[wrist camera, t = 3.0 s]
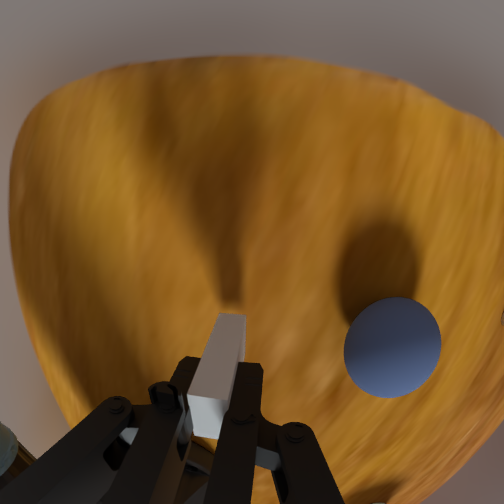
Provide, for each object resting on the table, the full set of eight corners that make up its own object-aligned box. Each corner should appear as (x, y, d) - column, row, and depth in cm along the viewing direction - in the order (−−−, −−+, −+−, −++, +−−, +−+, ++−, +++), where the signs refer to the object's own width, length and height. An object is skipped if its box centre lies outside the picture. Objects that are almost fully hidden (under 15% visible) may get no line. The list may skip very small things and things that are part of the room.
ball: (328, 359, 18) (343, 423, 12) (343, 280, 16) (374, 331, 10) (402, 356, 17) (433, 410, 11) (424, 282, 16) (473, 324, 10)
